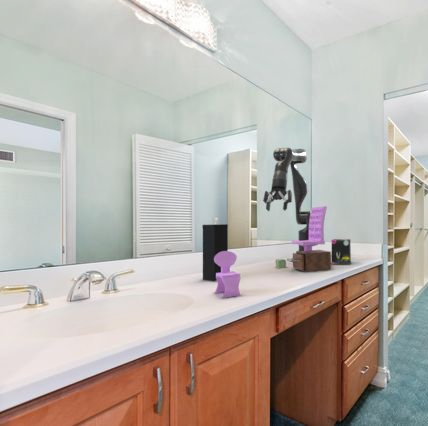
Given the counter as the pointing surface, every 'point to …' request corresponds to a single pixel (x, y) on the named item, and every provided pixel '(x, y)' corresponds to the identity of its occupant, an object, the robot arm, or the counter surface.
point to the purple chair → (314, 229)
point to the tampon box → (341, 251)
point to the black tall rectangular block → (213, 248)
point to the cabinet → (316, 260)
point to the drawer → (298, 261)
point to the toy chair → (227, 274)
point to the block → (280, 263)
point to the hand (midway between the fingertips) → (276, 210)
